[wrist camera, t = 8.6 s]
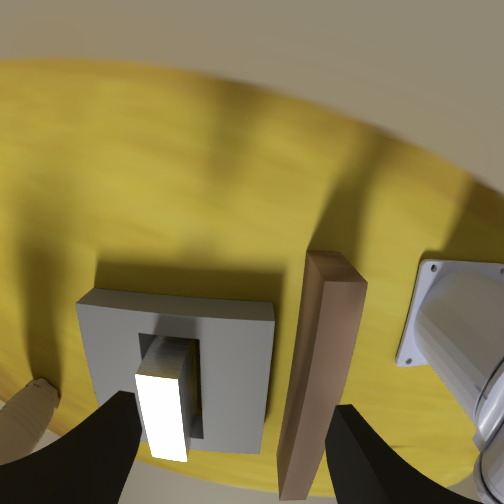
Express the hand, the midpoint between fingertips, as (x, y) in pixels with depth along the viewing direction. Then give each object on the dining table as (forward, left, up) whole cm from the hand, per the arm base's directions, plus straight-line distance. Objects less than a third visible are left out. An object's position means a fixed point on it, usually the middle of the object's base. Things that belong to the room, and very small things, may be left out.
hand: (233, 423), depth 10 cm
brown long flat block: (-4, +5, -9) cm, 12 cm away
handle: (+17, +10, -10) cm, 22 cm away
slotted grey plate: (+4, +5, -9) cm, 11 cm away
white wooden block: (+4, +5, -10) cm, 11 cm away
